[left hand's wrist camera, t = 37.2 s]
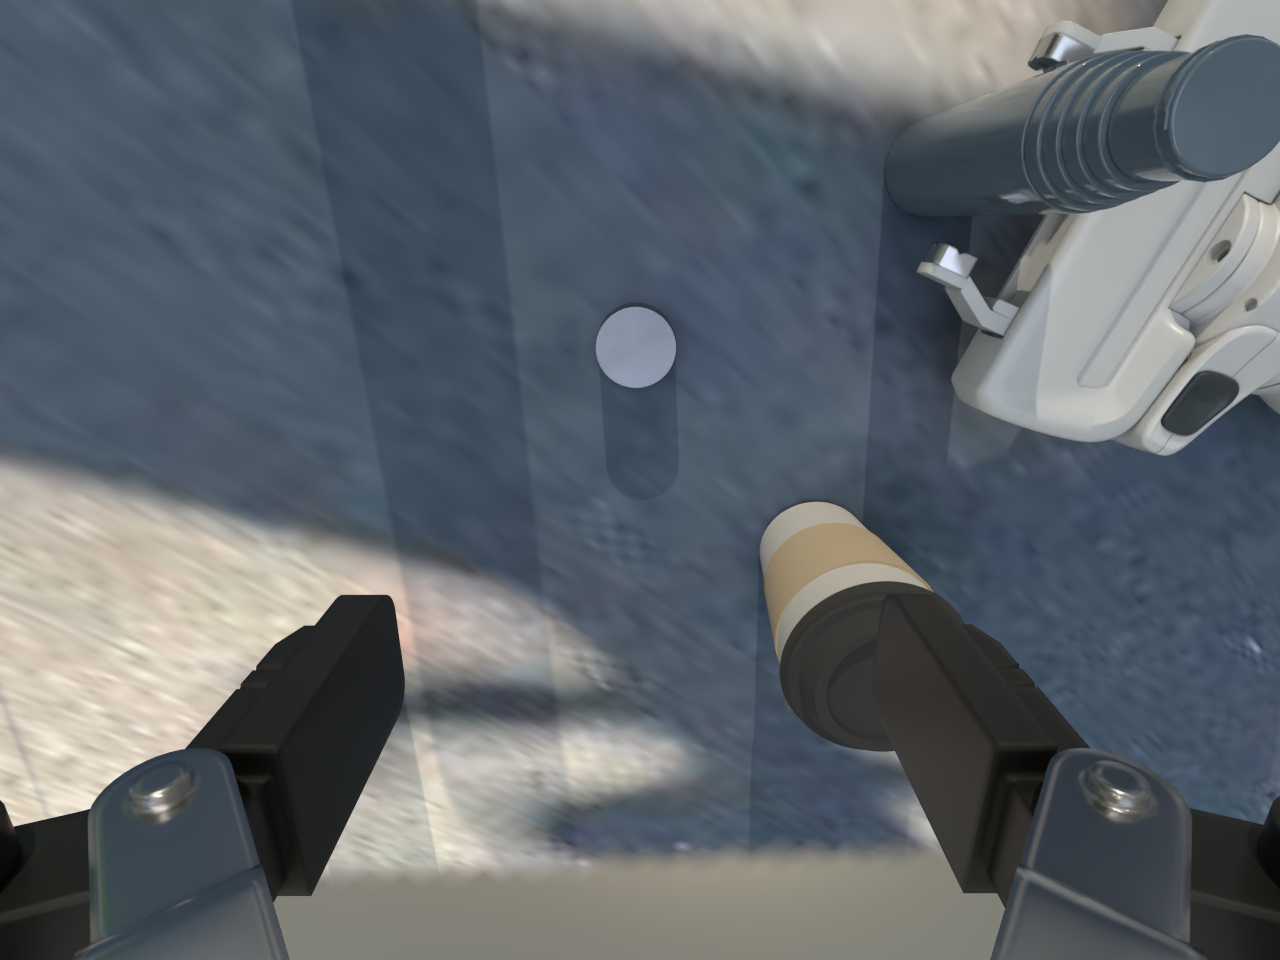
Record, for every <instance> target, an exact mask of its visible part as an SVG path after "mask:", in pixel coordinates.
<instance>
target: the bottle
mask: <svg viewBox="0 0 1280 960" xmlns="http://www.w3.org/2000/svg"><path fill="white" fill-rule="evenodd" d="M1279 142H1280V46H1279V45H1278V44H1277V43H1275V42H1273V41H1271V40H1269V39H1267V38H1265V37H1264V36H1256V35H1248V34H1245V35H1239V36H1233V37H1228V38H1226V39H1223V40H1220V41H1215V42H1213V43H1211V44H1208V45H1206V46H1204V47H1202V48H1199V49H1197V50H1196V51H1195V52H1192V53H1191V52H1186V51H1145V50H1140V51H1129V50H1122V51H1114V52H1109V53H1104V54H1097V55H1093V56H1089V57H1086V58H1084V59H1081V60H1078V61H1076V62H1073V63H1070V64H1067V65H1065V66H1062V67H1059V68H1057V69H1054V70H1051V71H1049V72H1046V73H1043V74H1040V75H1038V76H1035V77H1032V78H1030V79H1027V80H1024V81H1022V82H1019V83H1016V84H1013V85H1011V86H1008V87H1005V88H1003V89H1000V90H997V91H995V92H992V93H989V94H986V95H984V96H981V97H978V98H976V99H973V100H970V101H968V102H965V103H962V104H959V105H957V106H954V107H951V108H949V109H946V110H943V111H941V112H938V113H935V114H932V115H930V116H927V117H924V118H922V119H919V120H917V121H915V122H914V123H912V124H911V125H909V126H908V127H907V128H906V129H905V130H903V131H902V132H901V134H900V135H899V136H898V137H897V139H896V140H895V141H894V143H893V145H892V147H891V149H890V151H889V154H888V157H887V160H886V166H885V181H886V186H887V189H888V192H889V194H890V196H891V198H892V200H893V201H894V202H895V204H896V205H897V206H898V207H899V208H900V209H902V210H903V211H905V212H906V213H908V214H911V215H913V216H918V217H961V216H1004V215H1047V214H1082V213H1091V212H1095V211H1099V210H1105V209H1110V208H1114V207H1116V206H1119V205H1122V204H1124V203H1126V202H1130V201H1133V200H1135V199H1138V198H1140V197H1142V196H1146V195H1149V194H1151V193H1154V192H1156V191H1158V190H1160V189H1164V188H1167V187H1170V186H1172V185H1174V184H1176V183H1178V182H1180V181H1182V180H1188V181H1195V182H1211V181H1217V180H1223V179H1226V178H1228V177H1230V176H1233V175H1235V174H1237V173H1240V172H1242V171H1244V170H1246V169H1248V168H1250V167H1251V166H1253V165H1255V164H1256V163H1258V162H1259V161H1260V160H1262V159H1263V158H1264V157H1265V156H1267V155H1268V154H1269V153H1270V152H1271V151H1272V150H1273V149H1274V148H1275V146H1276V145H1277V144H1278V143H1279Z"/></svg>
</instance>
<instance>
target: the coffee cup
mask: <svg viewBox="0 0 1280 960" xmlns="http://www.w3.org/2000/svg"><path fill="white" fill-rule="evenodd" d="M760 561H761V566H762V570H763V575H764V592H765V597H766V602H767V608H768V613H769V618H770V623H771V628H772V634H773V639H774V644H775V649H776V654H777V658H778V661H779V664H780V681H781V686H782V690H783V693H784V696H785V698H786V700H787V702H788V704H789V706H790V707H791V709H792V710H793V711H794V713H795V714H796V715H797V716H798V717H799V718H800V719H801V720H802V721H803V723H804V724H805V725H806V726H807V727H809V728H810V729H811V730H812V731H813V732H815V733H816V734H818V735H819V736H821V737H823V738H824V739H826V740H828V741H831V742H833V743H835V744H838V745H841V746H845V747H849V748H854V749H861V750H870V751H895V750H894V748H893V746H892V743H891V741H890V739H889V737H888V735H887V733H886V731H885V729H884V727H883V725H882V723H881V721H880V719H879V716H878V714H877V712H876V708H875V705H874V700H873V693H872V671H873V664H874V657H875V650H876V642H877V635H878V628H879V621H880V613H881V607H882V603H883V600H884V598H885V596H886V595H887V594H935V593H934V591H933V590H932V588H931V587H930V586H929V585H928V584H927V583H926V582H925V581H924V580H923V579H922V578H921V577H920V576H919V575H918V574H917V573H916V572H915V571H914V570H912V569H911V568H910V567H909V566H908V565H907V564H906V563H905V562H904V561H903V560H902V559H901V558H900V557H899V556H898V555H896V554H895V553H894V552H893V551H892V550H891V549H890V548H889V547H888V546H887V545H886V544H885V543H884V542H883V541H882V540H880V539H879V538H878V537H877V536H876V535H874V534H873V533H871V532H870V531H868V530H867V529H866V528H865V527H864V526H863V525H862V524H861V523H860V522H859V521H858V520H857V519H856V518H855V517H854V516H853V515H852V514H851V513H850V512H848V511H847V510H845V509H843V508H842V507H839V506H837V505H834V504H830V503H825V502H808V503H803V504H799V505H796V506H793V507H791V508H789V509H787V510H785V511H784V512H782V513H781V514H779V515H778V516H777V517H776V518H775V519H774V520H773V521H772V522H771V523H770V524H769V526H768V527H767V529H766V531H765V532H764V535H763V537H762V540H761V544H760ZM936 595H937V594H936ZM937 596H939V595H937ZM939 597H940V596H939ZM940 599H941V600H942V601H943V602H944V604H945V605H946V606H947V607H948V609H949V610H950V611H951V612H952V614H953V615H954V616H955V617H956V619H957V620H958V621H959V622H960V624H964V622H963V620H962V619H961V617H960V615H959V614H958V613H957V611H956V610H955V609H954V608H953V607H952V606H951V605H950V604H949V603H948V602H947V601H946V600H944V599H943V598H942V597H940Z"/></svg>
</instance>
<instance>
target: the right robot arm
mask: <svg viewBox="0 0 1280 960" xmlns="http://www.w3.org/2000/svg"><path fill="white" fill-rule="evenodd" d="M1245 34H1248V35H1256V36H1264V37H1265V38H1267V39H1269V40H1271V41H1273V42H1275V43H1277V44H1278V45H1279V46H1280V0H1168V1H1167V3H1166V5H1165V6H1164V8H1163V10H1162V12H1161V13H1160V15H1159V17H1158V19H1157V20H1156V22H1155V24H1154V26H1153V27H1148V28H1141V29H1134V30H1128V31H1121V32H1114V33H1107V34H1103V35H1100V36H1099V35H1097V34H1095V33H1093V32H1091V31H1089V30H1088V29H1086V28H1084V27H1082V26H1080V25H1078V24H1076V23H1074V22H1072V21H1067V20H1060V21H1058V22H1056V23H1054V24H1052V25H1050V26H1048V27H1046V29H1045V31H1044V33H1043V35H1042V37H1041V39H1040V40H1039V42H1038V44H1037V46H1036V48H1035V50H1034V52H1033V54H1032V56H1031V58H1030V59H1029V61H1028V66H1029V67H1031V68H1032V69H1034V70H1036V71H1038V70H1042V69H1043V72H1044V73H1046V72H1049V71H1051V70H1054V69H1057V68H1059V67H1062V66H1065V65H1067V64H1070V63H1073V62H1076V61H1078V60H1081V59H1084V58H1086V57H1089V56H1093V55H1097V54H1104V53H1109V52H1114V51H1122V50H1129V51H1140V50H1145V51H1186V52H1191V53H1192V52H1195V51H1196V50H1197V49H1199V48H1202V47H1204V46H1206V45H1208V44H1211V43H1213V42H1215V41H1220V40H1223V39H1226V38H1228V37H1233V36H1239V35H1245ZM977 259H978V258H975V257H973V256H971V255H969V254H967V253H963V252H958V250H957V248H955V247H952V246H950V245H948V244H944V243H935V242H933V243H932V244H931V246H930V248H929V250H928V252H927V254H926V255H925V257H924V259H923V261H922V262H921V264H920V266H919V268H918V270H917V272H918V273H919V274H921V275H923V276H925V277H927V278H930V279H932V280H934V281H936V282H938V283H940V284H943V285H945V288H944V289H945V290H946V292H947V294H948V296H949V297H950V299H951V301H952V303H953V305H954V306H955V308H956V310H957V312H958V313H959V315H960V317H961V319H962V320H963V321H965V322H967V323H969V324H972V325H974V326H976V327H978V328H979V329H978V331H977V332H976V334H975V336H974V338H973V339H972V341H971V343H970V345H969V346H968V348H967V350H966V351H965V353H964V355H963V357H962V358H961V360H960V362H959V363H958V365H957V367H956V368H955V370H954V372H953V374H952V377H951V381H952V384H953V387H954V389H955V392H956V394H957V396H958V398H959V399H960V400H961V401H963V402H964V403H966V404H968V405H970V406H972V407H974V408H976V409H978V410H980V411H982V412H984V413H986V414H989V415H991V416H994V417H996V418H998V419H1001V420H1003V421H1006V422H1009V423H1012V424H1014V425H1017V426H1020V427H1024V428H1027V429H1030V430H1033V431H1037V432H1040V433H1044V434H1047V435H1051V436H1055V437H1059V438H1064V439H1068V440H1073V441H1079V442H1100V441H1106V440H1109V439H1111V440H1113V441H1116V442H1118V443H1121V444H1123V445H1126V446H1129V447H1132V448H1134V449H1138V450H1141V451H1145V452H1149V453H1153V454H1158V455H1163V456H1167V455H1171V454H1174V453H1176V452H1177V451H1179V450H1181V449H1182V448H1184V447H1185V446H1186V445H1187V444H1189V443H1190V442H1191V441H1192V440H1193V439H1195V438H1196V437H1197V436H1198V435H1199V434H1200V433H1202V432H1203V431H1204V430H1205V429H1206V428H1207V427H1209V426H1210V425H1211V424H1212V423H1213V422H1215V421H1216V420H1217V419H1218V418H1220V417H1221V416H1222V415H1223V414H1224V413H1226V412H1227V411H1228V410H1229V409H1231V408H1232V407H1233V406H1235V405H1236V404H1237V403H1239V402H1240V401H1241V400H1242V399H1244V398H1245V397H1247V396H1248V395H1249V394H1255V395H1258V396H1260V397H1261V398H1262V400H1263V401H1264V402H1265V403H1266V404H1267V405H1268V406H1269V407H1270V408H1272V409H1273V410H1274V411H1276V412H1277V413H1279V414H1280V142H1279V143H1278V144H1277V145H1276V146H1275V148H1274V149H1273V150H1272V151H1271V152H1270V153H1269V154H1268V155H1267V156H1265V157H1264V158H1263V159H1262V160H1260V161H1259V162H1258V163H1256V164H1255V165H1253V166H1251V167H1250V168H1248V169H1246V170H1244V171H1242V172H1240V173H1237V174H1235V175H1233V176H1230V177H1228V178H1226V179H1223V180H1217V181H1211V182H1195V181H1188V180H1182V181H1180V182H1178V183H1176V184H1174V185H1172V186H1170V187H1167V188H1164V189H1160V190H1158V191H1156V192H1154V193H1151V194H1149V195H1146V196H1142V197H1140V198H1138V199H1135V200H1133V201H1130V202H1126V203H1124V204H1122V205H1119V206H1116V207H1114V208H1110V209H1105V210H1099V211H1095V212H1091V213H1082V214H1047V215H1044V216H1043V218H1042V220H1041V222H1040V223H1039V225H1038V227H1037V228H1036V230H1035V232H1034V234H1033V235H1032V237H1031V239H1030V241H1029V242H1028V244H1027V246H1026V247H1025V249H1024V251H1023V253H1022V254H1021V256H1020V258H1019V260H1018V261H1017V263H1016V265H1015V267H1014V268H1013V270H1012V272H1011V273H1010V275H1009V277H1008V279H1007V280H1006V282H1005V284H1004V286H1003V287H1002V289H1001V291H1000V293H999V294H998V296H997V298H991V297H986V296H982V295H981V294H980V292H979V290H978V289H977V287H976V286H975V284H974V282H973V281H972V279H971V277H970V276H969V275H970V273H971V271H972V269H973V267H974V265H975V263H976V261H977Z"/></svg>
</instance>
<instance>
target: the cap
mask: <svg viewBox="0 0 1280 960" xmlns="http://www.w3.org/2000/svg"><path fill="white" fill-rule="evenodd" d="M595 350H596V357H597V360H598V363H599V365H600V367H601V369H602V370H603V372H604V373H605V374H606V375H607V377H609V378H610V379H611V380H612V381H614V382H615V383H617V384H619V385H621V386H624V387H628V388H644V387H648V386H651V385H653V384H655V383H657V382H658V381H660V380H661V379H662V378H663V377H665V375H666V374H667V373H668V372H669V370H670V369H671V367H672V365H673V363H674V360H675V356H676V339H675V335H674V332H673V329H672V327H671V324H670V323H669V321H668V319H667V318H666V317H665V316H664V315H663V314H662V313H661V312H660V311H659V310H657V309H656V308H654V307H652V306H649V305H646V304H641V303H630V304H626V305H623V306H620V307H618V308H616V309H615V310H613V311H612V312H611V313H610V314H609V315H608V316H607V317H606V318H605V319H604V321H603V322H602V324H601V327H600V329H599V332H598V335H597V338H596V345H595Z"/></svg>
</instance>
